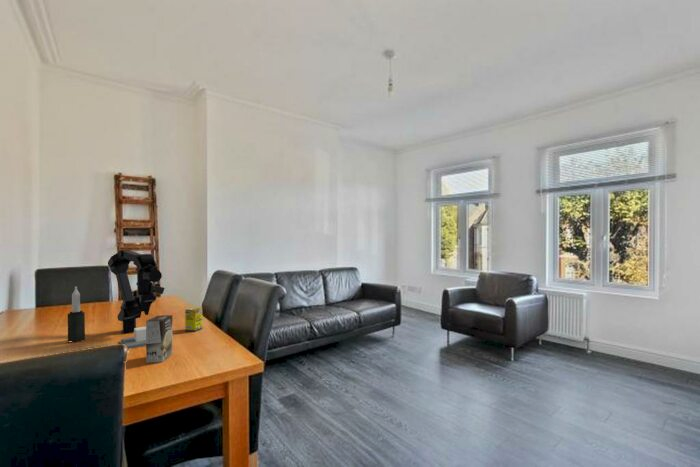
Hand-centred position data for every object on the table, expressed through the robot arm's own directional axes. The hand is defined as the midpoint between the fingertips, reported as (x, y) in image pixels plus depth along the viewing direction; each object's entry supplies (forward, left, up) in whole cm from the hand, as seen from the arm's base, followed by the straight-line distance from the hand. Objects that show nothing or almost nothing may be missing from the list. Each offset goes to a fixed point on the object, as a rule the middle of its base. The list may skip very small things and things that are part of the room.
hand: (144, 313), depth 168 cm
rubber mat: (+9, -3, -11) cm, 15 cm away
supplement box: (+5, +21, -11) cm, 24 cm away
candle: (-13, -25, -11) cm, 30 cm away
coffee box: (+37, -2, -11) cm, 39 cm away
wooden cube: (+9, -3, -10) cm, 14 cm away
